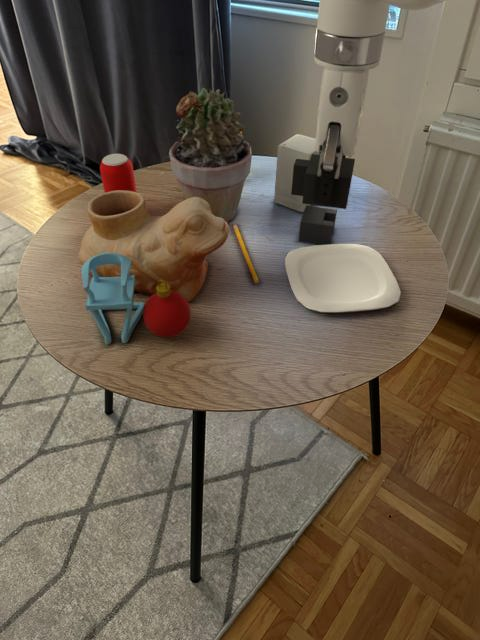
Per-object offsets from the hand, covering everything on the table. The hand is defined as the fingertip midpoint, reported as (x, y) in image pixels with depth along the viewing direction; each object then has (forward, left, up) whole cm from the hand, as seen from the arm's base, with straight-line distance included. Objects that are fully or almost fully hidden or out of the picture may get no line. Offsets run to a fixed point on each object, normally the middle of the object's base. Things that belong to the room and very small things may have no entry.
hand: (327, 189), depth 68 cm
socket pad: (+2, -18, -20) cm, 27 cm away
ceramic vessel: (+27, +2, -20) cm, 34 cm away
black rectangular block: (0, 0, -1) cm, 1 cm away
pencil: (+14, -9, -20) cm, 26 cm away
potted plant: (+24, -22, -20) cm, 38 cm away
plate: (-4, -5, -20) cm, 21 cm away
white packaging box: (+8, -30, -20) cm, 37 cm away
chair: (+28, +15, -20) cm, 38 cm away
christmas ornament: (+20, +14, -20) cm, 32 cm away
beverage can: (+41, -15, -20) cm, 48 cm away
